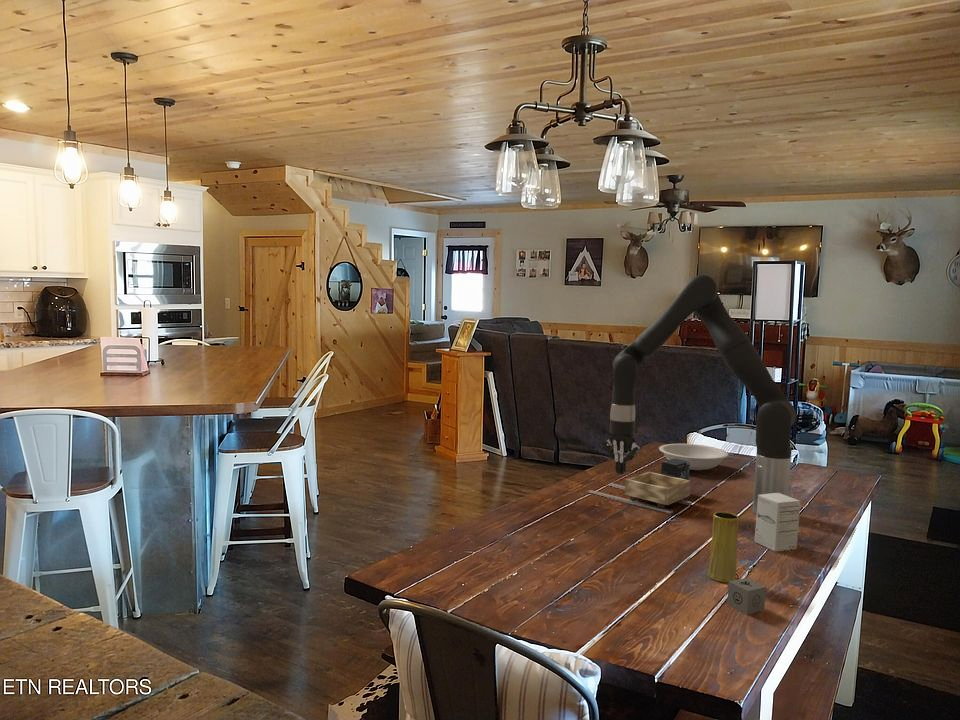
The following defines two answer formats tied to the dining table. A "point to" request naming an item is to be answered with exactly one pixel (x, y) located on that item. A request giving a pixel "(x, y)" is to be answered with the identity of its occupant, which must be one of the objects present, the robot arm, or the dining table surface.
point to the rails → (636, 501)
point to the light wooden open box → (657, 488)
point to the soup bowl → (695, 455)
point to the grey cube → (746, 596)
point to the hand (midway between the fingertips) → (620, 473)
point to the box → (676, 468)
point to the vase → (723, 547)
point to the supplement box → (777, 521)
